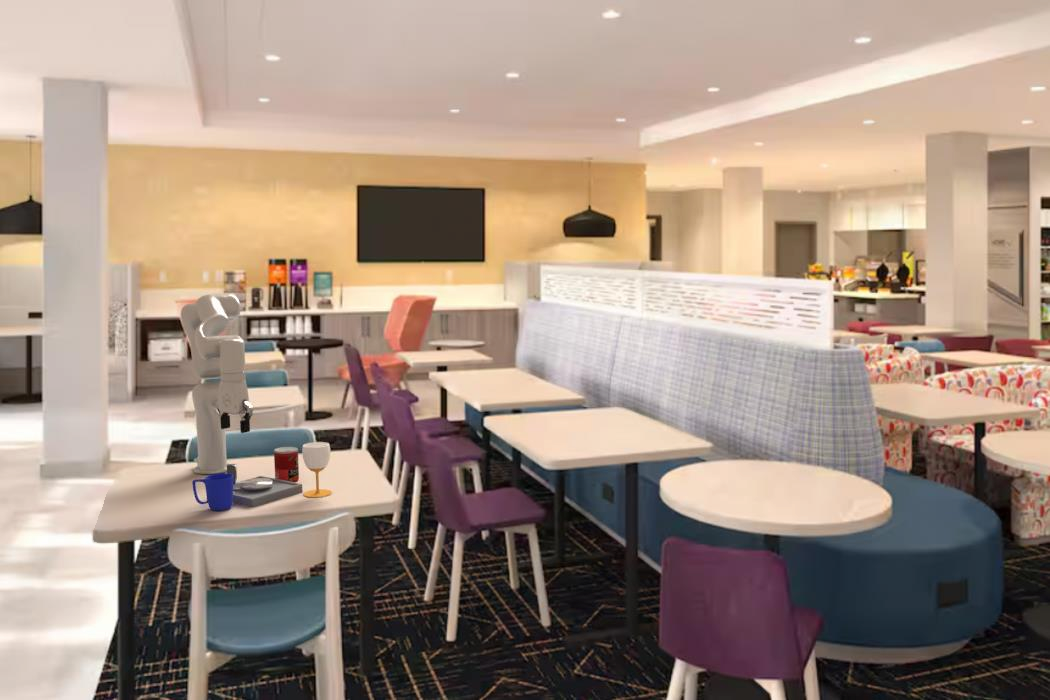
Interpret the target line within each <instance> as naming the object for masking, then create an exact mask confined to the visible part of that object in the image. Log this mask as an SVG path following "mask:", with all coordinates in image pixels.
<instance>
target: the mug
mask: <svg viewBox="0 0 1050 700" xmlns="http://www.w3.org/2000/svg"><path fill="white" fill-rule="evenodd" d="M198 482H199V483H203V484H204V486H205V494H206V500H205V501H201V500H200V498H199V496H198V493H197V487H196V485H197V484H196V483H198ZM233 482H234V475H233V474H229V473H227V472H222V473H216V474H208V475H206V476H205V478H198V479H193V480H192V489H193V495H194V499H195V501H196V503H198V504H200V505H205V504H206V505H208V508H209V509H210V510H211V511H214V512H215V511H216V512H221V511H227V510H229V509H231V508H232V507H233V504H234V503H233Z"/></svg>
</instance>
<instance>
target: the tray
mask: <svg viewBox="0 0 1050 700" xmlns="http://www.w3.org/2000/svg"><path fill="white" fill-rule="evenodd" d="M255 478H267V479H271V480H273V485H272V486H271V487H269V488H266V489H260V490H244V489H241V488H233V504H238V505H241V506H245V505H246V507H250V508H251V507H252V508H254V507H258V506H261V505H265V504H268V503H271V502H274V501H277V500H280V499H283V498H287V497H290V495H291V496H294V495H297V494H301V493H303V484H302V483H299V482H289V481H284V480H279V479H275V477H274V478H272V477H268V476H265V475H258V476H255V477H251V478H248V479H244V480H240V481H239V482H242V481H245V480H249V479H255Z"/></svg>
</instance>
